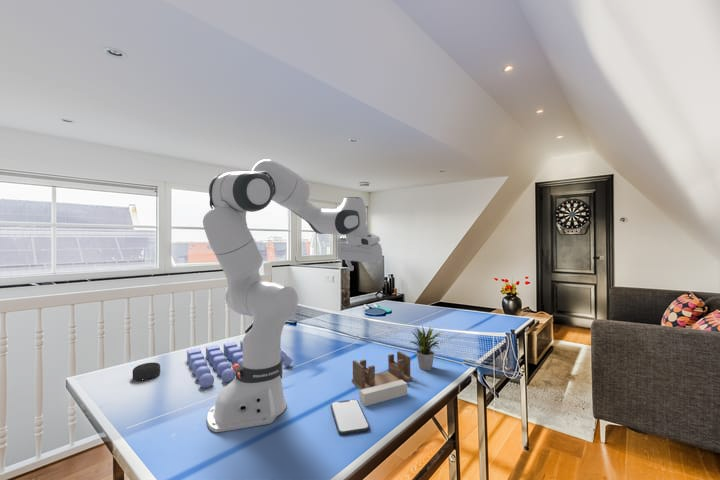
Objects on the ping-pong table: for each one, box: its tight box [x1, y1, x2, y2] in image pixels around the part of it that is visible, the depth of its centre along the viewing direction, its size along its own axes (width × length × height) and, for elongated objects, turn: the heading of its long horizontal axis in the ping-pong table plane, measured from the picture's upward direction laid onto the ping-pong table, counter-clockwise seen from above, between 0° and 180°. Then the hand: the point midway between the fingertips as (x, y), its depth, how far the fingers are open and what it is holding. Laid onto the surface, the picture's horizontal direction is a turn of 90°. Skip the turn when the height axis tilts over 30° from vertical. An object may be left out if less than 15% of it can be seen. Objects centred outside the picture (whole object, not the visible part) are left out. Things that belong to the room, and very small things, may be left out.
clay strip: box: [359, 380, 408, 407], centre depth 106 cm, size 16×3×4 cm, turn 117°
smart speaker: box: [132, 362, 161, 381], centre depth 125 cm, size 9×9×4 cm
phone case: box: [330, 399, 371, 437], centre depth 95 cm, size 9×2×16 cm
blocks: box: [186, 339, 294, 389], centre depth 137 cm, size 35×34×5 cm
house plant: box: [409, 325, 443, 371], centre depth 130 cm, size 14×14×16 cm
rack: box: [351, 351, 413, 391], centre depth 119 cm, size 20×9×8 cm, turn 118°
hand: (360, 271), depth 132 cm, fingers open, 8 cm apart
